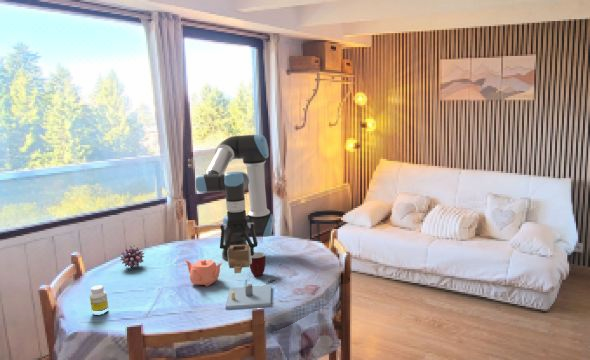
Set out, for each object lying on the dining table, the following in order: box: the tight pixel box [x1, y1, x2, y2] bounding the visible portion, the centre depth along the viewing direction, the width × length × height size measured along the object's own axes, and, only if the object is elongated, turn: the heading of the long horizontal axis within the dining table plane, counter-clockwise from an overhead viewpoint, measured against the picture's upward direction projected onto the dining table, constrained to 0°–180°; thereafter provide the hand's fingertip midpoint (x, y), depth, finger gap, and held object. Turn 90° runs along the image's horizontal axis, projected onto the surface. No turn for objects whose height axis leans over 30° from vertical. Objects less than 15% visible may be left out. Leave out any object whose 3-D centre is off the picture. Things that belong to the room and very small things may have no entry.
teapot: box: [184, 259, 224, 287], centre depth 207 cm, size 14×14×11 cm
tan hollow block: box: [228, 245, 250, 274], centre depth 183 cm, size 14×8×7 cm, turn 1°
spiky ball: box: [120, 244, 145, 268], centre depth 231 cm, size 12×12×12 cm
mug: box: [249, 251, 267, 278], centre depth 211 cm, size 11×8×10 cm
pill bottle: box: [89, 284, 109, 311], centre depth 182 cm, size 6×6×11 cm
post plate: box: [225, 283, 272, 310], centre depth 189 cm, size 18×18×6 cm
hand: (240, 263), depth 187 cm, fingers closed on tan hollow block, 8 cm apart
